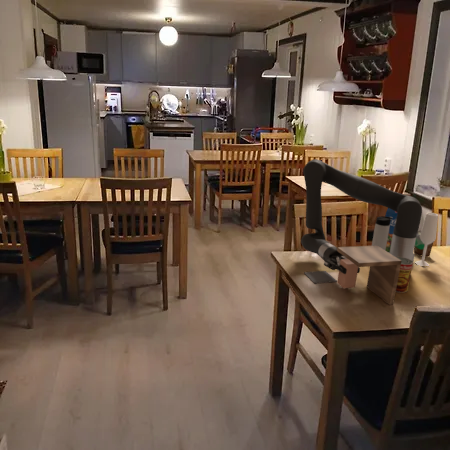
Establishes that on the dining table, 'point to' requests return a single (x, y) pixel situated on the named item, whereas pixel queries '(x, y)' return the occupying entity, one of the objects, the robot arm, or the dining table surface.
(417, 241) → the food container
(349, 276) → the terracotta block
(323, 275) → the slate mat
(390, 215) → the blue food package
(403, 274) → the canned food
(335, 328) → the dining table surface
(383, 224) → the travel mug
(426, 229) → the champagne flute
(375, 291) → the shelf nook
